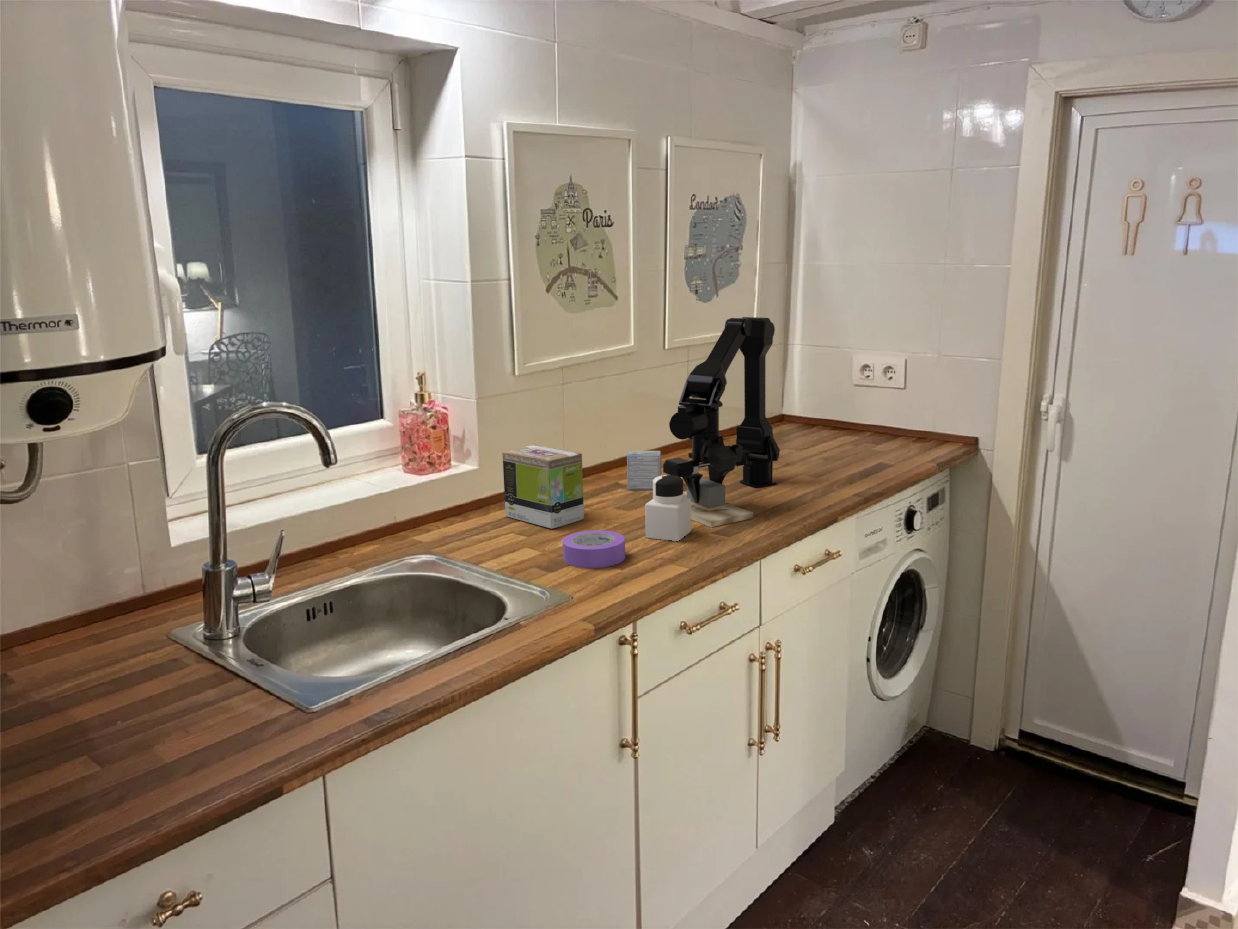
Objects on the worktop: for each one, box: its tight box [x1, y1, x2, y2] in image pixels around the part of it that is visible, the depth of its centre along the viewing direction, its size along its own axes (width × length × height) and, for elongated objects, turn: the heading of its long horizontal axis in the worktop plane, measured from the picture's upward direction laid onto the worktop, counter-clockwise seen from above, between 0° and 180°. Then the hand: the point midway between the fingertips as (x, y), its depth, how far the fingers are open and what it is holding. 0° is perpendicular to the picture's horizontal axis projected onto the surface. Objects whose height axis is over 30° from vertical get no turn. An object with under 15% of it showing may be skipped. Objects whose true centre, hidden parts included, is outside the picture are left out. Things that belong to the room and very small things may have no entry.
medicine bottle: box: [644, 474, 692, 542], centre depth 187 cm, size 7×7×12 cm
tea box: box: [502, 444, 585, 529], centre depth 200 cm, size 15×10×15 cm
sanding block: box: [686, 477, 726, 511], centre depth 204 cm, size 4×8×5 cm, turn 31°
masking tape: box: [561, 529, 626, 569], centre depth 176 cm, size 12×12×4 cm
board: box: [651, 490, 754, 528], centre depth 205 cm, size 11×22×1 cm, turn 32°
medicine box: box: [626, 450, 662, 491], centre depth 223 cm, size 8×4×9 cm, turn 84°
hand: (705, 500), depth 204 cm, fingers closed on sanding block, 4 cm apart
